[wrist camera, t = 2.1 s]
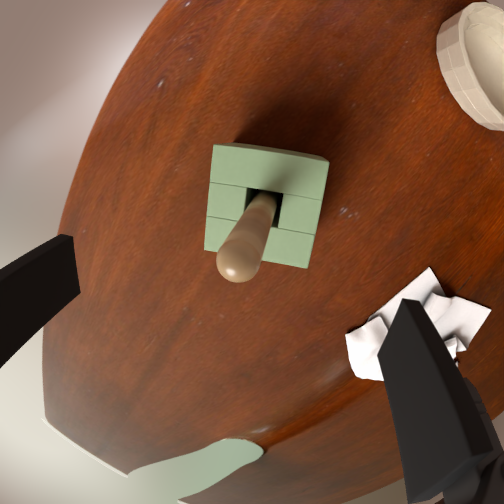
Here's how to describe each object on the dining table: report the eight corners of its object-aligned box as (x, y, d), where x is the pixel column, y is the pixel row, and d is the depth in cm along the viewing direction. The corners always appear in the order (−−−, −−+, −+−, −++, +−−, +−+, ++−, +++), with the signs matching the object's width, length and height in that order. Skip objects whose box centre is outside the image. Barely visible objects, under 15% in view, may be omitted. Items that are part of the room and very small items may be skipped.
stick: (262, 180, 28) (212, 243, 12) (281, 183, 28) (260, 252, 12) (259, 199, 29) (209, 285, 13) (278, 202, 29) (254, 294, 13)
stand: (232, 142, 27) (213, 144, 21) (321, 156, 27) (329, 162, 20) (223, 225, 31) (203, 249, 24) (305, 239, 30) (307, 268, 24)
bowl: (432, -1, 17) (453, -21, 11) (519, 50, 16) (546, 44, 10) (429, 103, 22) (457, 98, 17) (517, 147, 21) (548, 153, 16)
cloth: (321, 334, 34) (322, 347, 32) (467, 236, 27) (477, 244, 25) (384, 407, 39) (386, 418, 36) (496, 337, 31) (503, 346, 29)
